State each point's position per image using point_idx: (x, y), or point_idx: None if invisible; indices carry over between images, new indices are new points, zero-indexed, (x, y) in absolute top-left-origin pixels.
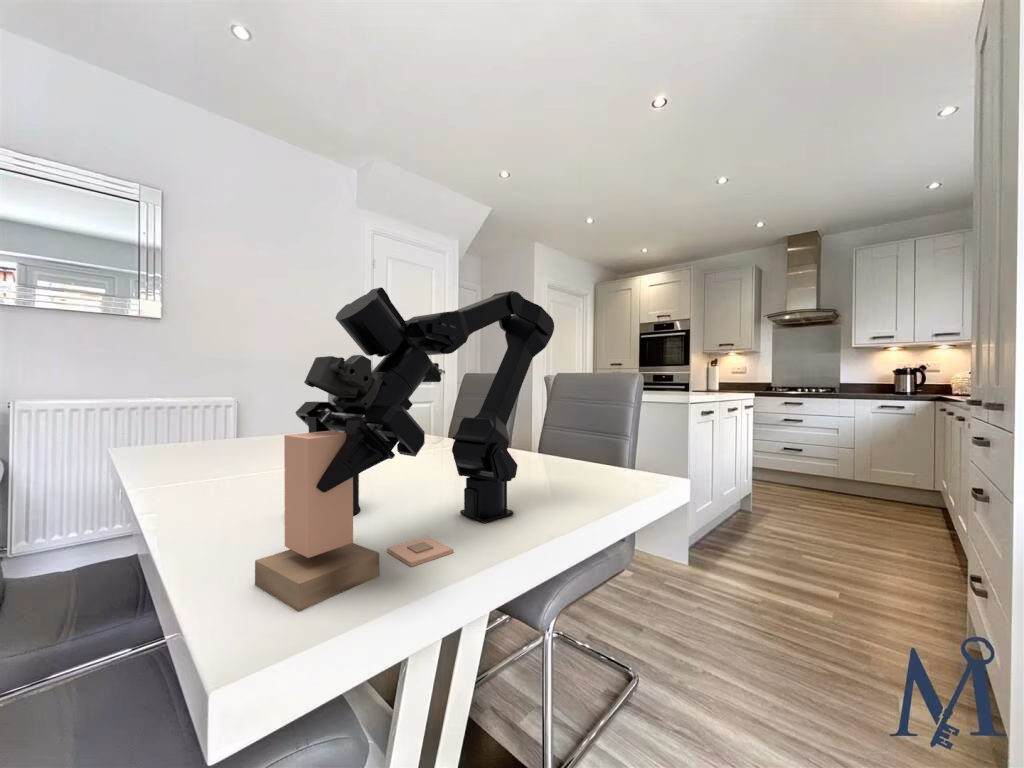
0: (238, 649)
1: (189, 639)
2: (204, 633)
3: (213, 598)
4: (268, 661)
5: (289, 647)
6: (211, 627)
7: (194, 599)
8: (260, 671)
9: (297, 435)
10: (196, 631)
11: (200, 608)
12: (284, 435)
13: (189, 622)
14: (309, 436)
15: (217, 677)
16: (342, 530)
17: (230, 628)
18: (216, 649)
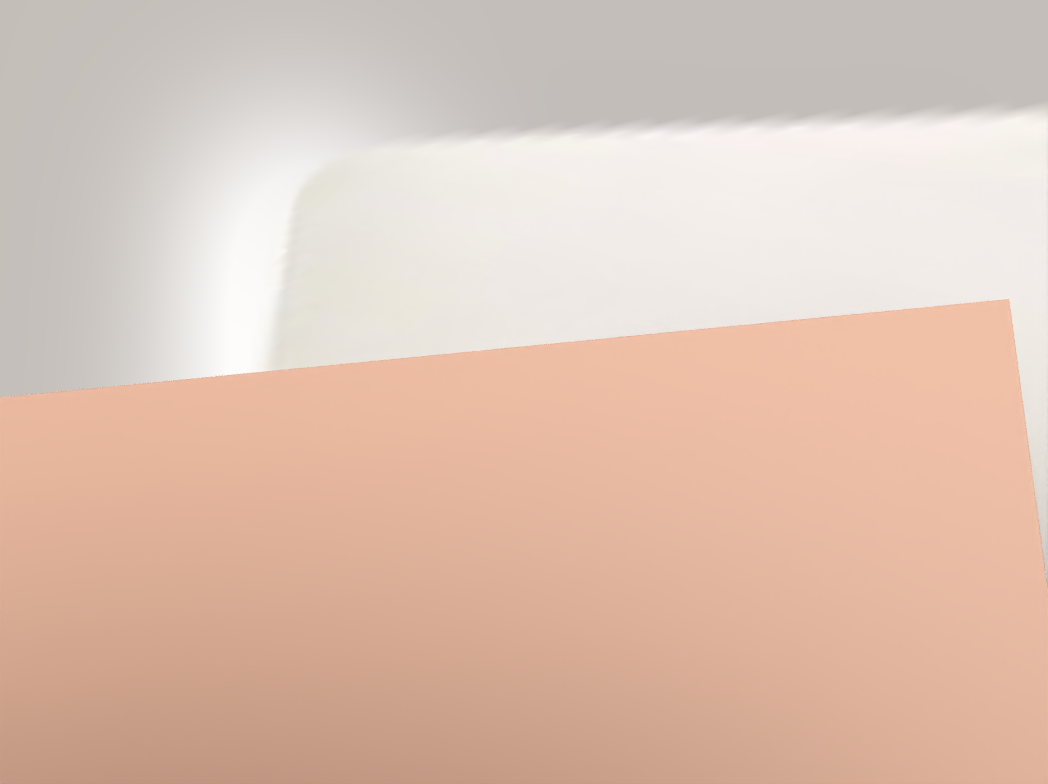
0: (436, 239)
1: (635, 131)
2: (636, 174)
3: (958, 251)
4: (303, 288)
5: (317, 357)
6: (663, 199)
7: (1023, 185)
8: (279, 258)
9: (579, 535)
10: (676, 155)
11: (886, 192)
12: (1009, 304)
13: (778, 144)
14: (112, 630)
15: (348, 167)
16: None
17: (596, 249)
18: (493, 188)
